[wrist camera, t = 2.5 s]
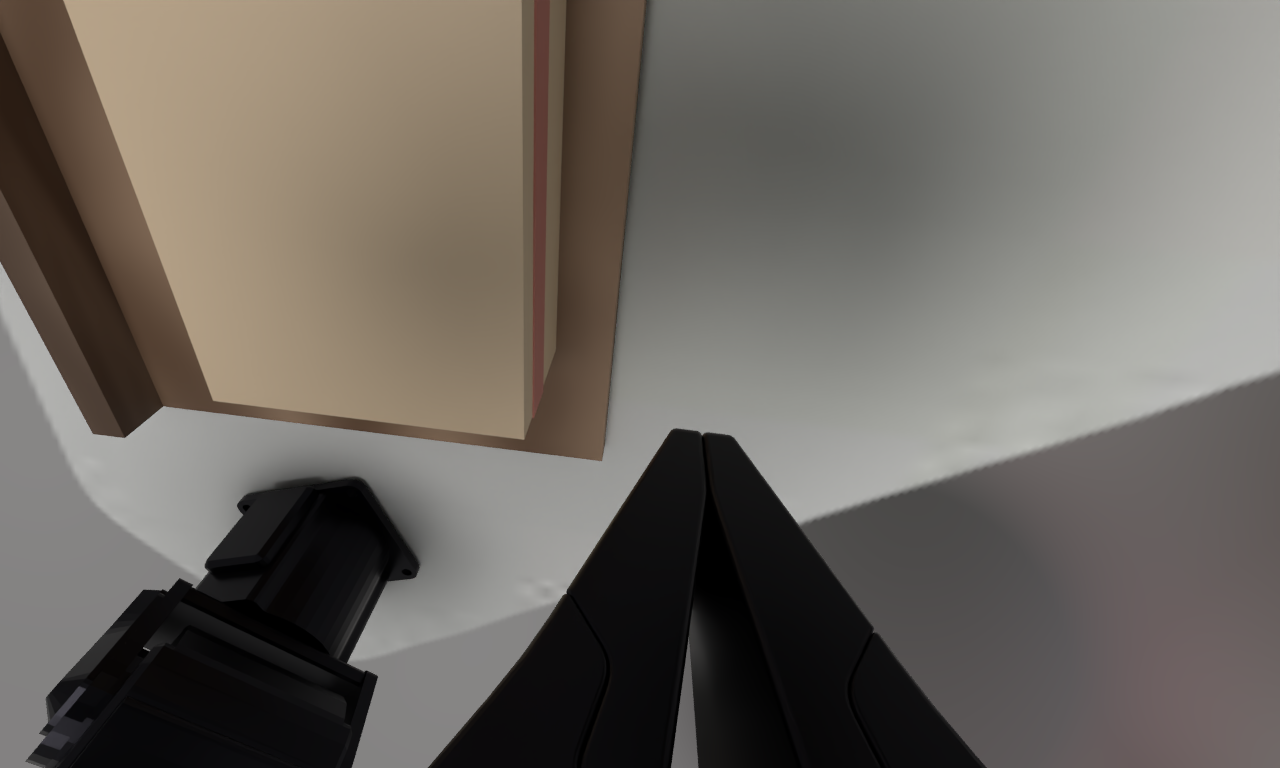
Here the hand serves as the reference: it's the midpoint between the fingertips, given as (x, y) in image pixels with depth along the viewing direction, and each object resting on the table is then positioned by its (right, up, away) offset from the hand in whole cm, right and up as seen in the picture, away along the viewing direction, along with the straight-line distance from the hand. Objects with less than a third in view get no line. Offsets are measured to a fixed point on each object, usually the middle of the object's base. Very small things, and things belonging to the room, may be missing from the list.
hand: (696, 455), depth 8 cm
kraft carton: (-8, +8, +10) cm, 14 cm away
